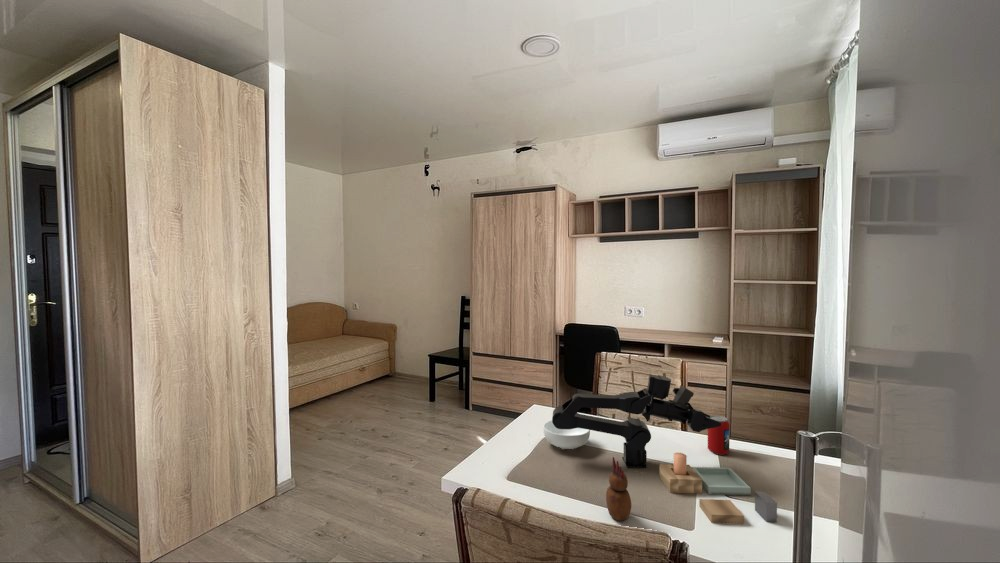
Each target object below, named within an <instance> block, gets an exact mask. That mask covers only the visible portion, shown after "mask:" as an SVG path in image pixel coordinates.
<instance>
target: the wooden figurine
mask: <svg viewBox="0 0 1000 563" xmlns="http://www.w3.org/2000/svg"><path fill="white" fill-rule="evenodd" d="M611 469H612V470H611V471H612V472H611V473H610V475H609V479H608V483H609V486H608V488H606V492H605V500H606V507H607V511H608V514H609V516H610V517H611V518H612V519H614V520H615V521H619V522H622V521H625V520H627V519H628V518H629V516H630V514H631V512H632V511H631V510H632V500H631V499H632V498H631V495H630V493H629V491H628V489H627V488H628V477H627V475H626V474H625V473H624V470H622V466H619V461H618V460H615V457H614V456H612V468H611Z"/></svg>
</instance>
